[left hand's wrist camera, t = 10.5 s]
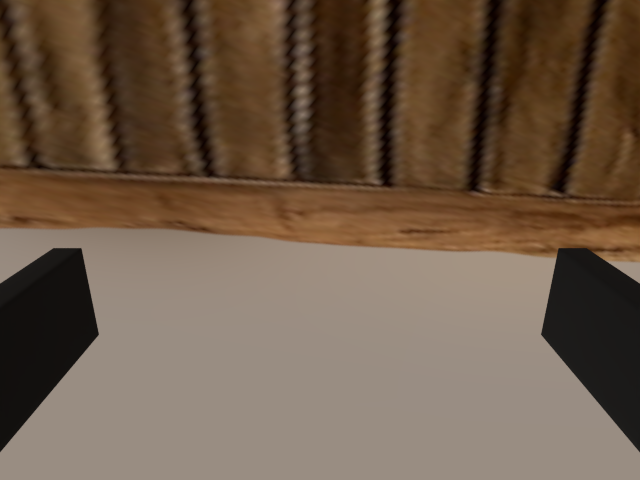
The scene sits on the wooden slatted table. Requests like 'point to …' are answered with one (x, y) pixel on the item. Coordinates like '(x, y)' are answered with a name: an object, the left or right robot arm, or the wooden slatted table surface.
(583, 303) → the left robot arm
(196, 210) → the wooden slatted table surface
